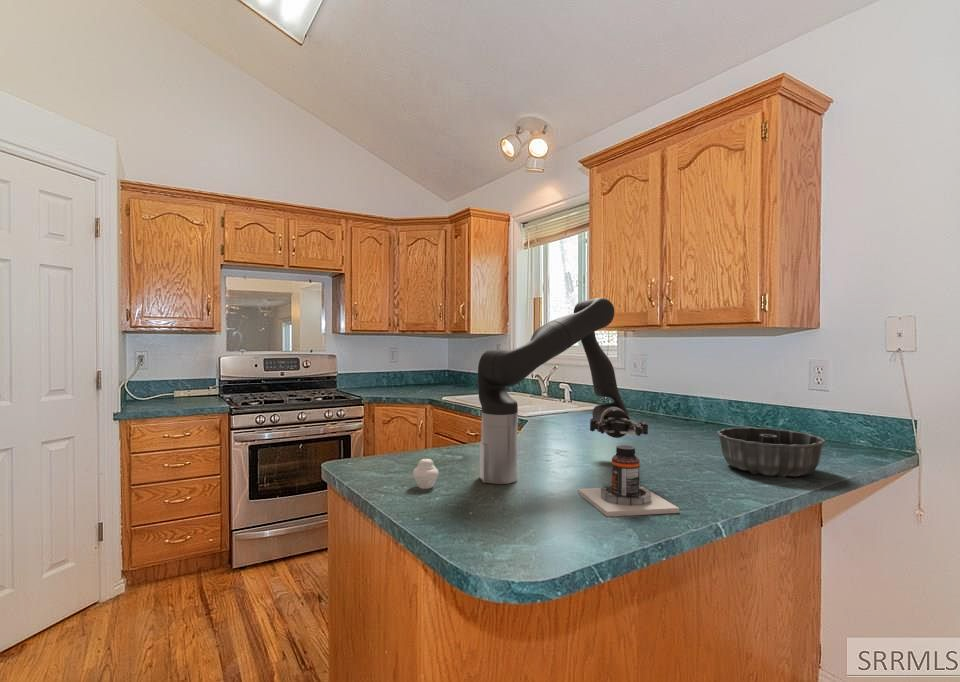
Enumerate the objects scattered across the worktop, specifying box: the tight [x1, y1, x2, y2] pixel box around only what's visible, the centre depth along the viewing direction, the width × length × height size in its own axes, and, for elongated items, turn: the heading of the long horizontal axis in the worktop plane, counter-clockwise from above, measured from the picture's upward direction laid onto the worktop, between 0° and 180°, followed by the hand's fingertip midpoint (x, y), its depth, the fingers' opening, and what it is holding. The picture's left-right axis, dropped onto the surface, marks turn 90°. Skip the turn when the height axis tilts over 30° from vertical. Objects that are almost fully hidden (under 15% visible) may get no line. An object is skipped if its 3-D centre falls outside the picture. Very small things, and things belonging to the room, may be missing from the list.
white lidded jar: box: [412, 458, 440, 490], centre depth 121 cm, size 6×6×7 cm
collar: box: [601, 484, 652, 506], centre depth 111 cm, size 10×10×2 cm
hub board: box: [577, 485, 680, 518], centre depth 111 cm, size 16×16×1 cm
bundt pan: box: [716, 427, 826, 478], centre depth 142 cm, size 26×26×10 cm
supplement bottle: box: [611, 444, 641, 497], centre depth 111 cm, size 6×6×11 cm
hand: (620, 430), depth 122 cm, fingers open, 8 cm apart
